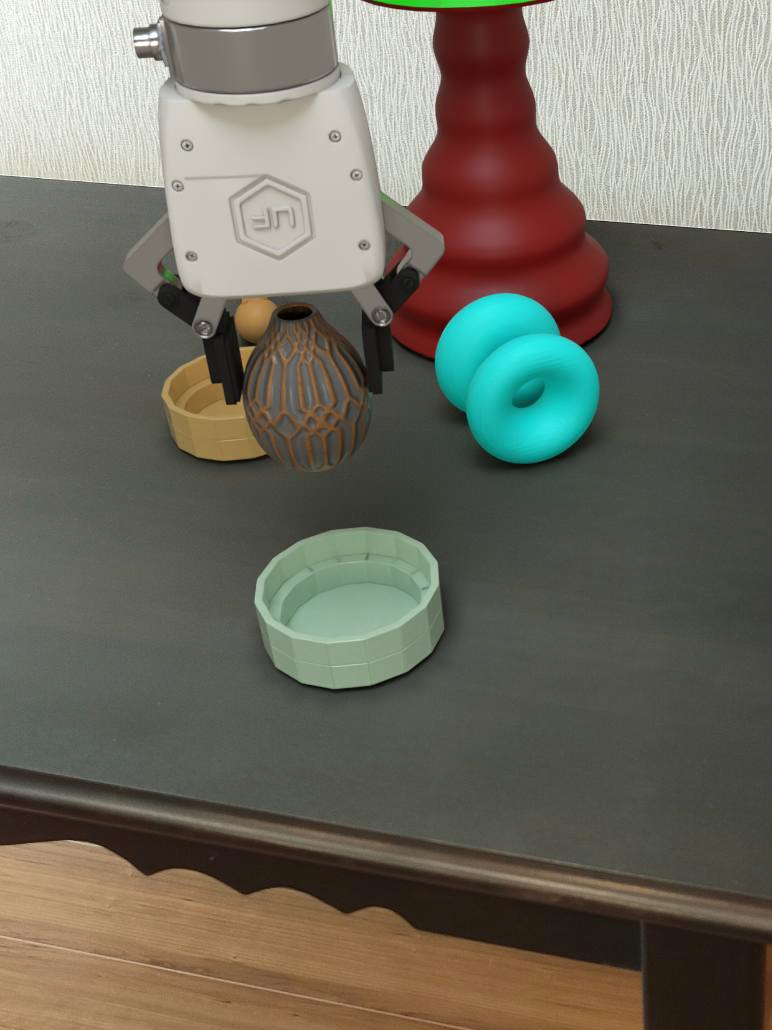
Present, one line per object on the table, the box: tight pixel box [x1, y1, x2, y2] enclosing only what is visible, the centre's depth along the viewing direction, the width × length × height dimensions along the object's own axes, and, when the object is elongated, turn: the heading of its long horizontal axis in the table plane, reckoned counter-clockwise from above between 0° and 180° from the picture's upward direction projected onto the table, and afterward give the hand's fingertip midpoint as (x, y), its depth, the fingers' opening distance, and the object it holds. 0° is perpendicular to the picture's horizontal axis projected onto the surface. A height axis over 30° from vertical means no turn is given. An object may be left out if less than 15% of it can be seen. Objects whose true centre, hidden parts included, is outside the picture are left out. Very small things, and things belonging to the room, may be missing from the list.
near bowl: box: [253, 526, 445, 690], centre depth 78 cm, size 11×11×4 cm
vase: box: [242, 301, 373, 473], centre depth 69 cm, size 7×7×9 cm
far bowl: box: [160, 345, 267, 462], centre depth 99 cm, size 11×11×4 cm
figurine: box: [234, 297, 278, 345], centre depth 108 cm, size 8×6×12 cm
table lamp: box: [360, 0, 613, 361], centre depth 100 cm, size 20×20×45 cm
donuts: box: [434, 293, 600, 465], centre depth 94 cm, size 10×10×10 cm
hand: (306, 384), depth 69 cm, fingers closed on vase, 6 cm apart
